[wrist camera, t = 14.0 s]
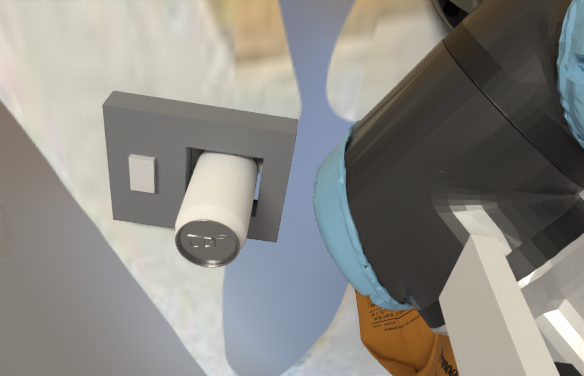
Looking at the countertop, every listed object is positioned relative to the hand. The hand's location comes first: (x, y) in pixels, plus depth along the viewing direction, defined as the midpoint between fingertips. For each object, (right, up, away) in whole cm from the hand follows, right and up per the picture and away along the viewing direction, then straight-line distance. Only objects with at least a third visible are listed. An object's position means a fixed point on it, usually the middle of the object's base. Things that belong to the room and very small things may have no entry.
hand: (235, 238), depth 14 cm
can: (-5, +4, +37) cm, 38 cm away
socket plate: (-8, +4, +37) cm, 38 cm away
